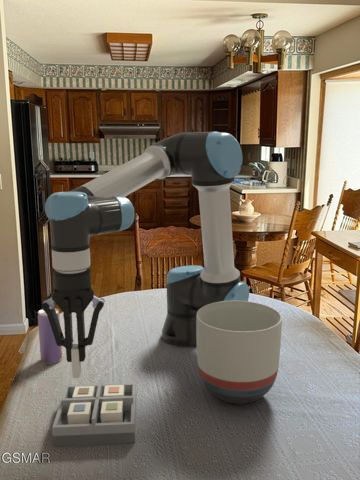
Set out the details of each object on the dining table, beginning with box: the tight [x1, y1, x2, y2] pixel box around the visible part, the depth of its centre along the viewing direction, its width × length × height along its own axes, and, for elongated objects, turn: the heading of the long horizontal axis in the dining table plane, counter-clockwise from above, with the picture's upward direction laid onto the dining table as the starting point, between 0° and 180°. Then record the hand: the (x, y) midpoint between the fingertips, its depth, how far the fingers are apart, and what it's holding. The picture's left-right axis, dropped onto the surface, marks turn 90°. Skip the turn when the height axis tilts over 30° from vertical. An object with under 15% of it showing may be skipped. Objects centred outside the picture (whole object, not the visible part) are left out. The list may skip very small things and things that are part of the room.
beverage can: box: [37, 307, 63, 365], centre depth 137 cm, size 6×6×15 cm
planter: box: [196, 300, 283, 405], centre depth 117 cm, size 20×20×21 cm
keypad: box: [51, 379, 137, 447], centre depth 109 cm, size 17×18×6 cm
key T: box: [67, 402, 92, 425], centre depth 104 cm, size 4×4×3 cm
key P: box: [101, 401, 123, 423], centre depth 105 cm, size 4×4×3 cm
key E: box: [72, 386, 95, 398], centre depth 111 cm, size 4×4×3 cm
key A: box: [103, 385, 124, 397], centre depth 112 cm, size 4×4×3 cm
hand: (77, 374), depth 102 cm, fingers closed
